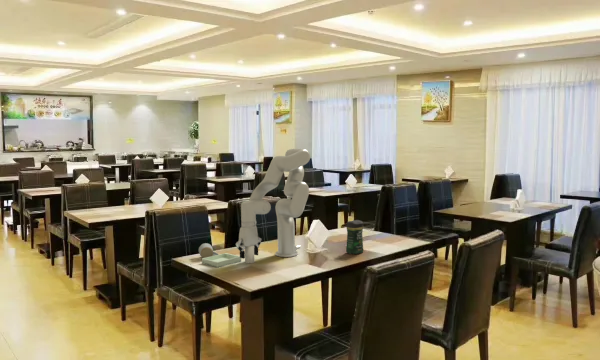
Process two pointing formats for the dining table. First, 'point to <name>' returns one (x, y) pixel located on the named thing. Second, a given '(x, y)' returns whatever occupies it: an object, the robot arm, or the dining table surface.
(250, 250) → the shaker
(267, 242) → the dining table surface
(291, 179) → the robot arm
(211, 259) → the tray
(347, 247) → the coffee jar
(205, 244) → the ceramic mug
